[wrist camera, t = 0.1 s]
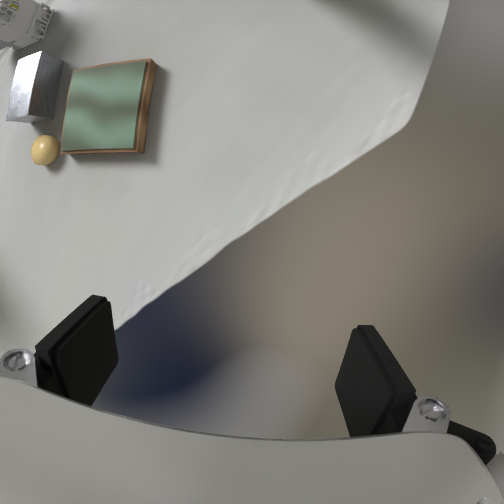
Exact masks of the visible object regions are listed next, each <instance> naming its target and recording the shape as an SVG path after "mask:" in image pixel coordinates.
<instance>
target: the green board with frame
mask: <svg viewBox="0 0 504 504" xmlns="http://www.w3.org/2000/svg"><path fill="white" fill-rule="evenodd" d="M156 65H157V64H156V63H155V62H154V61H153V60H152V59H140V60H131V61H123V62H115V63H109V64H102V65H97V66H91V67H86V68H81V69H76V70H73V72H72V77H71V82H70V86H69V92H68V97H67V103H66V109H65V116H64V123H63V131H62V140H61V151H60V154H88V153H144V147H145V138H146V129H147V121H148V113H149V106H150V99H151V93H152V87H153V81H154V76H155V70H156Z"/></svg>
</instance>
